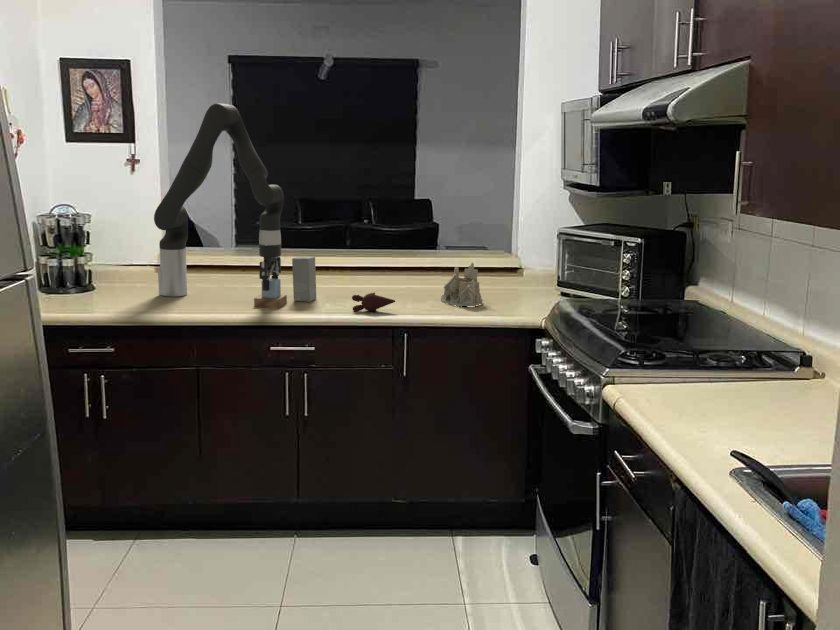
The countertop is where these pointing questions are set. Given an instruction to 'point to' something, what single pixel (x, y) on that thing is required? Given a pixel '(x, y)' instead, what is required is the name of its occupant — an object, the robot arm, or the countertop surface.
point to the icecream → (371, 302)
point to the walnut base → (270, 301)
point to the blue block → (272, 289)
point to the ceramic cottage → (463, 288)
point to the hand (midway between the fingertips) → (270, 288)
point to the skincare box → (304, 278)
